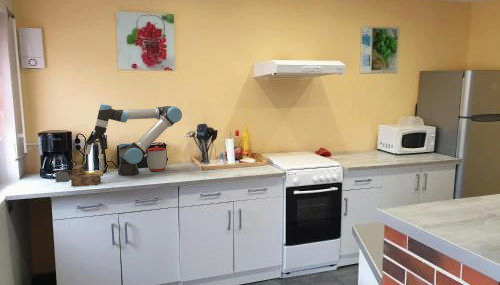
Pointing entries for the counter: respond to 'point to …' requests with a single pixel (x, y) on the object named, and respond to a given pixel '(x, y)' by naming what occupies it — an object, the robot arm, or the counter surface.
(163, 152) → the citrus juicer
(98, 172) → the axle
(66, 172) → the v block
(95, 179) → the brown wooden l-shaped block
